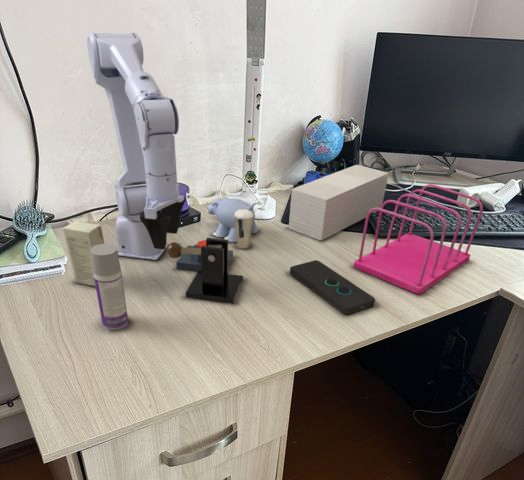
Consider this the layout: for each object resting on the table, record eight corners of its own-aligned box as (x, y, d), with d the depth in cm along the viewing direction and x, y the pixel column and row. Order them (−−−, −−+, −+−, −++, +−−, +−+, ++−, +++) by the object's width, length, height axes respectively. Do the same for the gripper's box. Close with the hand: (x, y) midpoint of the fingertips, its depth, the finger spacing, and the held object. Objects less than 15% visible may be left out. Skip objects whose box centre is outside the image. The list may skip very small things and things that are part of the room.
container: (104, 316, 92) (91, 243, 83) (130, 316, 93) (119, 243, 84) (100, 330, 88) (86, 255, 79) (126, 330, 89) (115, 255, 80)
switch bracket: (185, 297, 99) (183, 251, 93) (198, 275, 107) (197, 231, 101) (233, 303, 98) (234, 257, 92) (243, 280, 106) (244, 236, 100)
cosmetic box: (111, 279, 104) (103, 224, 96) (99, 288, 100) (90, 232, 93) (86, 273, 105) (75, 219, 98) (73, 282, 102) (61, 227, 94)
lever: (165, 260, 99) (163, 246, 97) (170, 253, 101) (168, 239, 99) (220, 263, 97) (219, 248, 95) (224, 256, 99) (222, 241, 97)
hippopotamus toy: (224, 218, 134) (224, 183, 128) (266, 234, 126) (268, 198, 121) (196, 229, 127) (195, 192, 121) (239, 246, 119) (240, 209, 114)
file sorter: (469, 261, 119) (490, 198, 110) (418, 296, 104) (438, 227, 95) (406, 238, 128) (421, 179, 119) (352, 267, 113) (364, 202, 104)
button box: (176, 268, 109) (175, 254, 107) (188, 251, 116) (187, 238, 114) (224, 274, 108) (224, 260, 105) (233, 257, 115) (233, 243, 113)
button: (195, 253, 109) (195, 245, 108) (199, 246, 111) (199, 239, 110) (211, 254, 108) (211, 247, 107) (215, 248, 111) (215, 241, 110)
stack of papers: (321, 240, 125) (326, 199, 118) (288, 228, 130) (291, 188, 123) (381, 209, 145) (388, 172, 138) (351, 200, 150) (356, 164, 143)
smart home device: (346, 308, 95) (288, 266, 108) (345, 316, 96) (287, 273, 109) (377, 298, 99) (317, 259, 112) (375, 305, 100) (316, 265, 113)
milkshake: (253, 251, 118) (254, 211, 112) (231, 248, 118) (232, 209, 112) (257, 244, 121) (258, 205, 115) (236, 241, 122) (236, 202, 116)
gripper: (169, 186, 83) (174, 258, 91) (192, 162, 95) (195, 228, 103) (130, 182, 84) (138, 253, 92) (158, 159, 95) (163, 224, 104)
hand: (166, 240), depth 98 cm, fingers open, 7 cm apart
